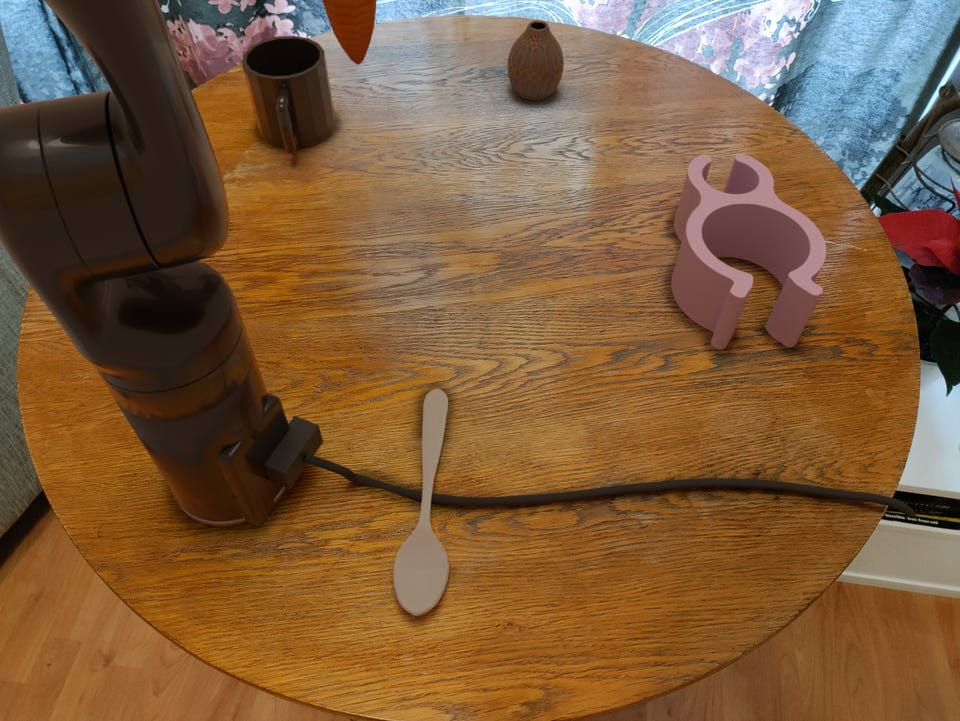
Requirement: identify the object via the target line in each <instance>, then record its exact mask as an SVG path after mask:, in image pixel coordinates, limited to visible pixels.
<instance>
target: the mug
mask: <svg viewBox="0 0 960 721" xmlns="http://www.w3.org/2000/svg"><path fill="white" fill-rule="evenodd" d="M241 66H242V70H243V74H244V77H245V80H246V84H247V89H248V94H249V97H250V100H251V105H252V109H253V113H254V117H255V120H256V124H257V127H258V129H259V134H260V137H262V139H263V140H264V141H265V142H266V143H268V144H270V145H272V146H274V147H276V148H277V147H278V148H280V149H281V148H282V149H284V150H285V152H286V153H288V154H294V153H295V152H296V151H297V149H304V148H309V147H312V146H315V145H318V144H320V143H321V142H323V141H326V140H327V139H328V138H329V137H330V136H331V135H332V134H333V132H334V131H335V128H336V117H335V109H334V101H333V96H332V90H331V83H330V77H329V71H328V64H327V60H326V53H325V50H324V48H323V47H322V46H321V44H320V43H319V42H317V41H316V40H315V41H314V40H313V39H311V38H309V37H303V36H297V35H282V36H281V35H279V36H274V37H269V38H266V39H263V40H260V41H258V42H257V43H254V44H252V45H250V47H248V48H247V50H246V51H245V52H244V53H243V54H242V59H241Z"/></svg>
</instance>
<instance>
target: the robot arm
mask: <svg viewBox="0 0 960 721" xmlns="http://www.w3.org/2000/svg"><path fill="white" fill-rule="evenodd" d="M42 1H43V2H44V3H45V4H46V5H47V6H48V7H49V9H50V10H52V12H54V14H55V15H56V16H57V17H58V19H60V20H61V22H62V23H63V24H64V25H65V26H66V28H68V30H69V31H70V32H71V33H72V35H73V36H74V38H76V40H77V41H78V42H79V44H80V45H81V47H82V48H83V50H84V51H85V52H86V53H87V54H88V56H89V57H90V59H91V60H92V61H93V63H94V65H95V66H96V67H97V68H96V69H97V70H98V71H99V73H100V74H101V76H102V77H103V80H104V81H105V82H106V84H107V85H108V86H109V89H110V90H108V89H107V90H102V91H95V92H88V93H82V94H76V95H69V96H63V97H57V98H50V99H46V100H45V99H43V100H38V101H31V102H26V103H19V104H13V105H9V106H8V105H7V106H3V107H0V243H1V245H2V247H3V248H4V250H5V252H6V253H7V254H8V256H9V258H10V259H11V260H12V262H13V263H14V264H15V266H16V268H17V270H18V271H19V272H20V273H21V275H22V276H23V277H24V279H25V280H26V281H27V283H28V284H29V285H30V286H31V288H32V289H33V290H34V292H35V293H36V294H37V295H38V297H39V299H40V300H41V301H42V302H43V304H44V305H45V306H46V308H47V309H48V311H49V312H50V313H51V314H52V316H53V317H54V319H55V320H56V321H57V323H58V324H59V326H60V327H61V329H62V330H63V331H64V333H65V334H66V335H67V337H68V338H69V340H70V341H71V343H72V345H73V346H74V348H75V349H76V350H77V352H78V353H79V354H81V356H82V357H83V358H84V359H85V360H86V361H88V362H89V363H90V364H91V365H92V366H93V367H94V368H95V370H96V372H97V373H98V375H99V377H100V378H101V380H102V381H103V383H104V384H105V386H106V388H107V389H108V391H109V393H110V394H111V396H112V397H113V399H114V401H115V403H116V404H117V406H118V408H119V409H120V411H121V413H122V415H124V417H125V419H126V420H127V422H128V423H129V425H130V427H131V428H132V430H133V432H134V433H135V435H136V436H137V438H138V440H139V441H140V443H141V445H142V446H143V448H144V450H145V451H146V452H147V455H148V456H149V457H150V459H151V461H152V462H153V464H154V465H155V467H156V469H157V470H158V472H159V474H160V476H161V477H162V478H163V480H164V481H165V483H166V484H167V486H168V488H169V489H170V490H171V492H172V496H173V498H174V499H175V501H176V503H177V505H178V507H179V508H180V510H182V511H183V513H184V514H185V515H186V516H188V517H189V518H190V519H192V520H193V521H195V522H197V523H200V524H202V525H205V526H209V527H219V528H224V527H226V528H227V527H233V526H240V525H243V524H246V523H247V524H250V525H253V526H255V527H261V525H263V524H264V522H265V520H266V519H267V518H268V516H269V515H270V513H271V512H272V510H273V509H274V508H275V506H276V505H277V503H278V502H279V501H280V500H281V499H282V497H283V496H284V495H285V493H286V492H287V490H291V489H292V488H293V487H294V485H295V484H296V483H297V481H298V479H299V478H300V477H301V475H302V474H303V472H304V471H305V469H306V468H307V466H308V465H311V466H315V467H316V468H320V469H323V470H326V471H329V472H331V473H334V474H336V475H340V476H342V477H343V478H345V479H347V480H348V481H350V482H353V483H356V484H359V485H362V486H365V487H369V488H375V489H380V490H383V491H387V492H390V493H393V494H396V495H398V496H401V497H403V498H407V499H412V500H415V501H421V502H422V491H420V490H416V489H410V488H406V487H402V486H398V485H394V484H392V483H387V482H384V481H381V480H377V479H374V478H372V477H368V476H365V475H362V474H358V473H357V472H354V471H353V470H352V469H351V468H349V467H347V466H345V465H341V464H339V463H337V462H334V461H330V460H328V459H325V458H322V457H319V456H316V454H317V452H318V451H319V450H320V448H321V446H322V445H323V443H324V439H323V436H322V432H321V428H320V425H318V424H317V423H314V422H312V421H309V420H308V419H304V418H302V417H300V416H297V415H294V416H293V417H292V418H291V420H288V418H287V415H286V413H285V412H286V411H285V410H284V406H283V404H282V401H281V398H280V397H279V396H277V395H275V394H272V393H270V392H269V391H268V388H267V387H266V383H265V380H264V377H263V375H262V372H261V369H260V366H259V364H258V360H257V358H256V355H255V352H254V349H253V346H252V344H251V340H250V337H249V335H248V331H247V329H246V326H245V323H244V320H243V317H242V314H241V310H240V307H239V305H238V302H237V299H236V297H235V294H234V291H233V290H232V288H231V286H230V284H229V283H228V282H227V280H226V279H225V277H224V276H223V275H222V274H220V272H218V271H217V270H216V269H214V268H213V267H212V266H211V265H208V264H207V263H204V262H203V261H204V260H205V259H207V258H210V257H212V256H214V255H215V254H217V253H218V252H219V251H221V250H222V249H223V247H224V246H225V243H226V241H227V239H228V234H229V227H230V210H229V203H228V198H227V192H226V188H225V184H224V180H223V176H222V173H221V168H220V166H219V163H218V160H217V157H216V154H215V151H214V148H213V146H212V142H211V140H210V137H209V134H208V131H207V129H206V125H205V123H204V120H203V118H202V115H201V113H200V110H199V107H198V104H197V102H196V99H195V96H194V94H193V91H192V89H191V86H190V83H189V80H188V77H187V75H186V73H185V69H184V68H183V67H184V66H183V65H182V63H181V59H180V56H179V54H178V51H177V49H176V46H175V44H174V41H173V39H172V36H171V33H170V30H169V28H168V24H167V22H166V19H165V16H164V15H163V12H162V9H161V6H160V2H159V1H158V0H42ZM202 260H203V261H202ZM698 488H699V489H701V488H702V489H703V488H736V489H737V488H739V489H740V488H741V489H756V490H757V489H760V490H771V491H781V492H789V493H797V494H804V495H811V496H816V497H817V496H818V497H825V498H829V499H831V498H832V499H839V500H846V501H856V502H864V503H871V504H878V505H883V506H887V507H890V508H893V509H895V510H897V511H898V512H900V513H902V514H903V515H905V516H906V517H907V518H908V517H909V518H915V517H917V514H916V512H915V510H914V509H913V508H912V507H911V506H909V505H908V504H907V503H905V502H904V501H901V500H899V499H897V498H894V497H891V496H888V495H884V494H878V493H871V492H865V491H864V492H863V491H856V490H855V491H854V490H845V489H837V488H829V487H824V486H818V485H817V486H816V485H809V484H803V483H797V482H796V483H795V482H787V481H778V480H768V479H754V478H753V479H752V478H729V477H728V478H726V477H725V478H724V477H722V478H721V477H720V478H719V477H718V478H717V477H715V478H713V477H712V478H710V477H709V478H690V479H689V478H688V479H687V478H686V479H673V480H672V479H671V480H663V481H662V480H661V481H651V482H638V483H628V484H619V485H610V486H602V487H595V488H587V489H579V490H570V491H562V492H550V493H549V492H548V493H538V494H537V493H536V494H535V493H534V494H522V495H520V494H519V495H508V496H461V495H460V496H459V495H449V494H448V495H447V494H441V493H440V494H439V493H433V492H432V497H431V503H432V504H441V505H449V506H450V505H451V506H462V507H503V506H504V507H505V506H521V505H533V504H547V503H548V504H549V503H560V502H569V501H570V502H571V501H578V500H579V501H580V500H586V499H595V498H601V497H607V496H608V497H609V496H616V495H624V494H634V493H635V494H636V493H637V494H638V493H647V492H658V491H670V490H681V489H683V490H685V489H698Z"/></svg>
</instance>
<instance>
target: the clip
mask: <svg viewBox="0 0 960 721" xmlns="http://www.w3.org/2000/svg"><path fill="white" fill-rule="evenodd" d="M712 161H713V159H712V157H710V156H709V155H708V154H700V155H698V156H696V157H695V158H693V159H692V160H691V162H690V163H689V165H688V168H687V171H686V176H685V179H684V183H683V186H682V191H681V194H680V198H679V201H678V206H677V209H676V214H675V217H674V220H673V231H674V233H675V235H676V237H677V239H678V240H679V241H680V242H681V243H680V247H679V250H678V254H677V256H676V261H675V264H674V268H673V272H672V274H671V279H670V280H671V281H670V285H671V286H670V287H671V292H672V297H673V298H674V301H675V303H676V304H677V305H678V308H680V310H681V311H682V312H683V313H684V315H686V316H687V317H688V318H689V319H690V320H691V321H692V322H694V323H695V324H697V325H699V326H701V328H704V329H706V330H708V331H710V332H711V333H713V334H712V337H711V340H710V345H711V347H713V348H715V349H716V350H718V351H720V350H721V351H722V350H724V349H726V347H727V345H729V343H730V341H731V340H732V337H733V335H734V333H735V330H736V328H737V325H738V323H739V320H740V319H741V316H742V313H743V311H744V308H745V306H746V303H747V300H748V298H749V295H750V293H751V290H752V288H753V285H754V276H753V275H752V274H751V273H749V272H745V271H742V270H739V269H737V268H735V267H732V266H730V265H728V264H727V263H725V262H723V261H722V260H720V259H719V258H735V259H741V260H744V261H748V262H750V263H753V264H755V265H757V266H760V267H761V268H763V269H765V270H766V271H768V272H769V273H770V274H771V275H773V276H774V278H775V279H776V280H777V281H778V282H779V284H780V285H781V287H782V288H781V290H780V292H779V295H778V297H777V299H776V302H775V303H774V306H773V307H772V310H771V312H770V314H769V317H768V319H767V322H766V323H765V326H764V328H765V330H766V331H767V333H768V334H769V335H770V336H771V338H773V339H774V340H776V341H777V342H778V343H780V344H781V345H783V346H784V347H786V348H794V347H795V346H796V345H797V344H798V342H799V339H800V337H801V335H802V333H803V331H804V329H805V327H806V325H807V323H808V322H809V320H810V318H811V316H812V314H813V311H814V310H815V308H816V306H817V304H818V302H819V300H820V298H821V296H822V294H823V293H824V289H823V288H822V286H820V285H819V284H817V283H816V280H817V277H818V276H819V275H820V272H821V270H822V268H823V265H824V263H825V261H826V259H827V258H826V257H827V245H826V241H825V239H824V236H823V234H822V232H821V231H820V229H819V228H818V227H817V225H816V224H815V223H814V222H813V221H812V219H810V218H809V217H808V216H806V215H805V214H804V213H802V212H801V211H799V210H798V209H796V208H795V207H793V206H791V205H788V204H787V203H786V202H784V201H783V200H781V199H780V197H778V196H777V194H776V193H775V189H774V185H775V181H774V177H773V174H772V172H771V171H770V170H769V168H768V167H766V165H764V163H762V162H761V161H759V160H757V159H756V158H754V157H752V156H750V155H747V154H744V153H736V154H735V156H734V159H733V162H732V166H731V169H730V172H729V175H728V178H727V181H726V185H725V188H724V191H721V190H718V189H716V188H714V187H712V186H711V185H709V184H708V183H707V178H708V175H709V171H710V167H711V165H712Z"/></svg>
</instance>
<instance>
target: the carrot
mask: <svg viewBox="0 0 960 721" xmlns="http://www.w3.org/2000/svg"><path fill="white" fill-rule="evenodd" d="M321 1H322V4H323V7H324V11H325V14H326V16H327V19H328V22H329V25H330V27H331V30H332V32H333V35H334V36H335V38H336V40H337V42H338V43H339V45H340V47H341V48H342V50H343V51H344V53H345V54H346V55H347V57H348V58H349V60H351V62H353V63H354V64H356V65H358V66H359V65H361V64H362V63H363V62H364V59H365V57H366V55H367V52H368V50H369V47H370V45H371V41H372V37H373V33H374V30H375V22H376V14H377V1H378V0H321Z"/></svg>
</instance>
